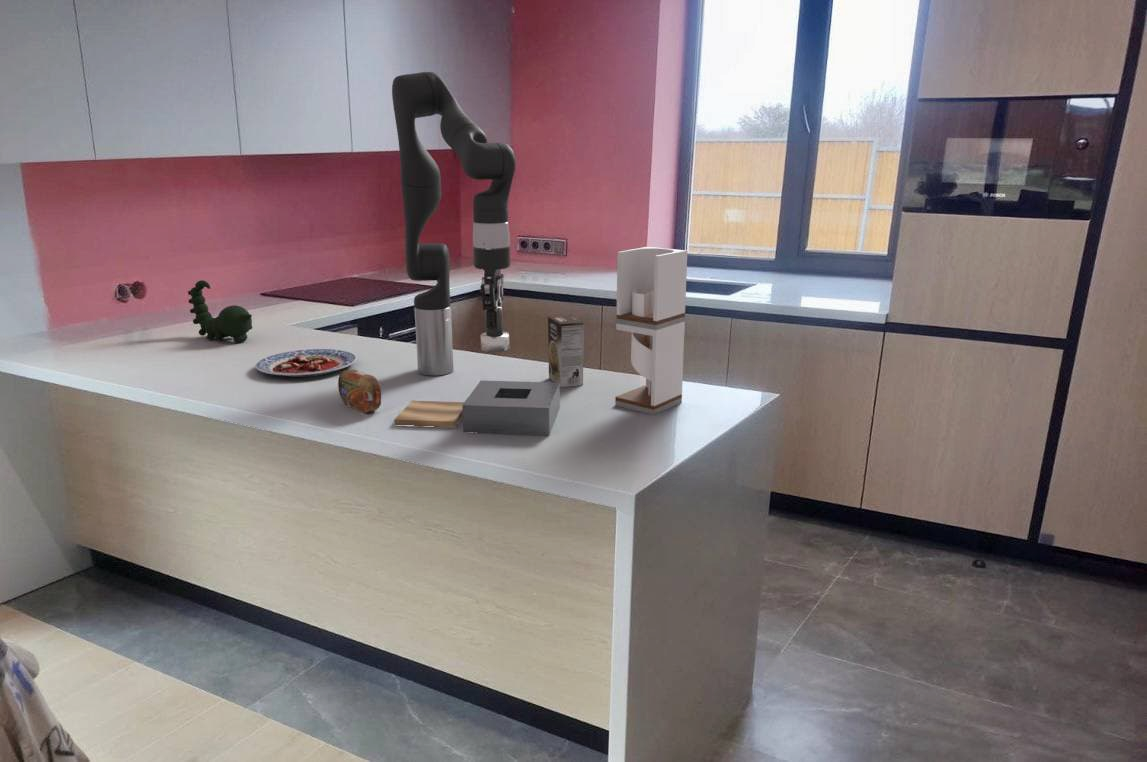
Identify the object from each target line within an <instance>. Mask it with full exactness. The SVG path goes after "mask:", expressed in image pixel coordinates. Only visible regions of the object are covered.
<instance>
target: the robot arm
mask: <svg viewBox="0 0 1147 762" xmlns="http://www.w3.org/2000/svg"><path fill="white" fill-rule="evenodd" d="M392 80H393V81H392V83H391V95H392V104H393V112H394V113H393V114H394V120H395V126H396V132H397V137H398V149H399V150H398V151H399V164H400V169H399V170H400V184H401V185H400V186H401V197H402V204H403V207H402V208H403V214H404V228H405V230H404V235H405V236H404V237H405V239H404V240H405V252H404V253H405V269H406V270H405V271H406V273H407V276H408V277H407V278H408V279H410V280H411V281H413V282H414V281H415V282H422V281H423V282H426V281H427V282H428V281H436V282H437V283H436V284H435V285H434V286H433V287H432V288H430V289H429V290H425V291H423V292H421V293H420V292H419V294H418V293H417V295H415V296H414V299H413V305H414V320H415V321H414V322H415V323H414V324H415V338H416V339H415V340H416V341H415V343H416V358H417V359H416V360H417V361H416V362H417V372H418V373H419V374H420V375H424V376H443V375H448V374H451V373H452V372H454V351H453V350H454V347H453V328H452V327H453V326H452V306H451V293H450V292H451V291H450V290H451V289H450V265H451V263H450V252H449V248H448V246H447V245H446V244H444V243H419V242H420V238H421V234H422V232H423V230H424V228H425V227H426V225H427V223H428V222H429V220H430V219H431V217H432V216H433V214H434V213H435V211H436V209H437V208H438V206H439V204H440V202H441V200H442V182H441V181H442V180H441V171H440V168H439V166H438V164H437V162H436V161H435V159H434V157H432V155H431V154H430V153H429V152H428V151H427V149H426V147H425V146H424V145H423V143H422V142H421V140H420V139H419V136H418V133H417V130H416V119H420V118H425V117H431V116H435V115H440V116H441V119H440V126H439V129H440V133H441V137H442V138H443V139H442V140H443V141H444V142H445V143H446V144H447V145H448V146H449V147H450V148H451V150H453V152H454V153H455V154H456V155H457V157H458V159H459V161H460V164H461V167H462V170H463V173H465V175H466V176H468V177H469V178H471V179H473V180H478V181H482V180H484V181H485V180H491V181H490V185H489V188H487V189H486V190H483V191H480V192H477V193H476V194H474V195H473V198H472V208H473V209H472V212H473V214H472V215H473V229H472V250H473V266H474V268H476V269H479V270H483V271H484V274H483V276H482V277H481V285H480V291H481V292H480V293H481V300H482V309H483V311H484V312H485V311H486V319H485V323H486V322H487V328H488V329H496V328H497V327H498V321H497V310H498V307H497V305H500V306H502V305H503V300H504V281H505V280H504V278H505V274H504V273H502V272H501V270H506V269H507V268H509V267H511V236H510V235H511V234H510V228H509V198H510V193H511V188H512V184H513V179H514V177H515V174H516V173H515V172H516V168H517V167H516V164H517V163H516V162H517V161H516V156H515V153H514V150H513V148H512V147H511V146H510V145H509V144H507V143H504V142H488V138H487V135H486V133H485V132H484V131H483V130H482V129H481V128H480V127H479V126H478V125H477V124H476V123H475V122H474V121H473V120H472V119H471V118H470V117H469V116H468V115H467V114H466V113H465V112H464V110H463V109H462V108H461V107H462V106H461V105H459V103H458V101H457V99H456V98H455V96H454V95H453V94H452V92H451V90H450V89H449V88H448V86H447V84H446V83H445V81H444V80H443V79H442V78H441V77H440V75H438V74H437V73H435V72H432V71H421V72H415V73H407V74H400V75H397V76H396V77H394V79H392Z"/></svg>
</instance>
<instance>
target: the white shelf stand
mask: <svg viewBox="0 0 1147 762" xmlns="http://www.w3.org/2000/svg"><path fill="white" fill-rule="evenodd" d="M616 260H617V261H616V262H617V263H616V264H617V265H616V325H615V328H616V330H618V331H623V332H627V333H631V343H630V344H631V345H630V346H631V351H630V355H631V357H630V362H631V366H632V367H633V369H634V370H635V371H636V372H637V373H638V374H639V375H641V376H642V377H644V378H645V385H642V386H639V387H638V388H634V389H632V390H629V391H627V392H624V393H622V394H619V395H616V396H615V397H614V398H615V399H614V402H615V403H614V404H615V405H614V406H616V407H619V408H620V407H621V408H624V409H629V410H632V411H637V412H640V413H644V414H649V415H653V416H656V415H657V414H659V413H662V412H663V411H666V410H668V409H670V408H672V407H674V406H677V405H679V404H681V403H682V402H683V401H682V399H683V381H684V379H683V377H684V375H683V374H684V373H683V372H684V353H685V352H684V351H685V349H684V347H685V325H686V321H685V320H686V319H685V318H686V301H687V300H686V298H687V297H686V296H687V273H688V269H687V268H688V250H687V249H686V250H685V249H675V248H666V247H665V248H664V247H663V248H661V247H654V246H644V247H640V248H639V247H637V248H633V249H627V250H621V251H617V258H616Z"/></svg>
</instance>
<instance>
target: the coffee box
mask: <svg viewBox="0 0 1147 762" xmlns="http://www.w3.org/2000/svg"><path fill="white" fill-rule="evenodd" d="M584 326H585V324H584V322H583V321H581V320H579V318H576V317H575V316H573V315H572V314H569V315H550V316H547V327H548V328H547V336H548V339H547V340H548V345H547V346H548V378H549V379H550V380H551V381H552V382H554V383H560V388H566V387H567V388H569V387H577V386H583V385H584V339H585V338H584V336H585V335H584V329H585V328H584Z"/></svg>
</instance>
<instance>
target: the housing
mask: <svg viewBox="0 0 1147 762" xmlns="http://www.w3.org/2000/svg"><path fill="white" fill-rule="evenodd" d="M560 389H561V387H560V383H555V382H553V381H552V382H548V381H546V382H543V381H514V380H511V381H510V380H484V379H483V380H480V381H479V382H478V384H477V385H476V386H475V387H474V389H473V391H472V392H471V393H470V394H469V396H468V397H467V398H466V399H465V401H463V402H464V404H463V405H462V410H463V417H462V429H463V432H474V433H473V434H488V433H492V434H491V435H494V434H495V435H518V436H519V435H523V436H524V435H525V436H551V432H552V429H553V427H554V424H555V422H556V419H557V417H558V414H559V411H560V409H561V405H560V403H561V401H560V400H561V398H560V396H561V395H560V393H561V391H560ZM475 432H477V433H475ZM493 433H494V434H493Z"/></svg>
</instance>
